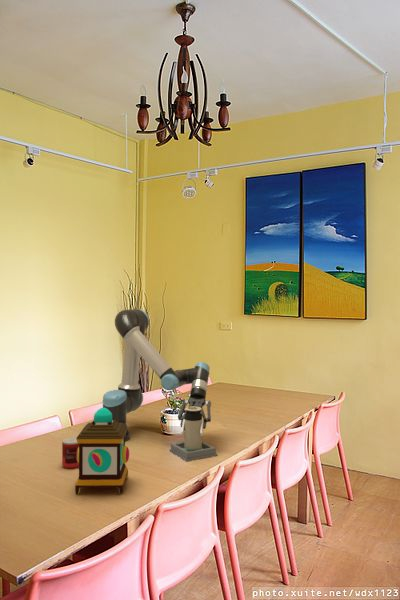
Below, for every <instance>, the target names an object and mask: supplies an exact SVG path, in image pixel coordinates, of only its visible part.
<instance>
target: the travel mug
mask: <svg viewBox="0 0 400 600" xmlns="http://www.w3.org/2000/svg"><path fill="white" fill-rule="evenodd" d="M202 408H203V407H202ZM202 408H200V407H196V406H191V407H189V406H186V407H185V411H186V414H185V430H184V441H183V442H184V447H185V448H187V449H190V450H196V449H200V448H201V447H202V441H203V435H202V436H201V435H200V429H201V423H202V420H203V417H202V414H201V409H202Z"/></svg>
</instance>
